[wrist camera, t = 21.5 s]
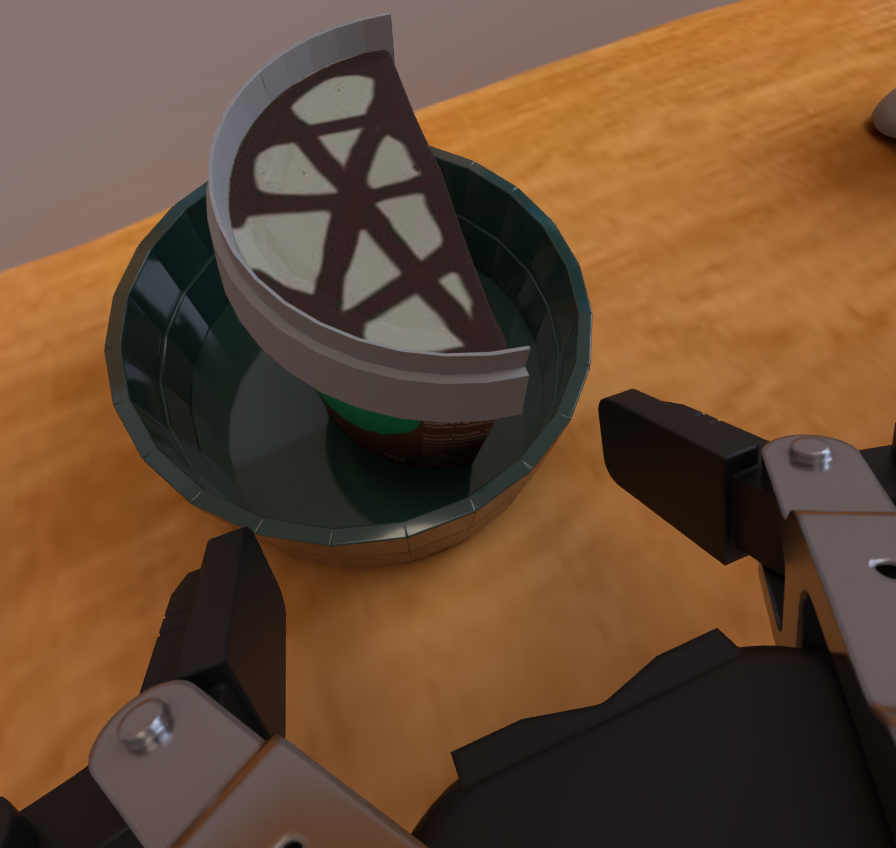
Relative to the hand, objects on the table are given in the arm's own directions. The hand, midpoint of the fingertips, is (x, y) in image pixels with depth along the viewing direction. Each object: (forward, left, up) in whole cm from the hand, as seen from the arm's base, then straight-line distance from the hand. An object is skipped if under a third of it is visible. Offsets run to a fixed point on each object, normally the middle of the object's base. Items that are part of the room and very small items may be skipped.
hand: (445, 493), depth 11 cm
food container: (0, -7, -8) cm, 11 cm away
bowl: (0, -8, -9) cm, 12 cm away
